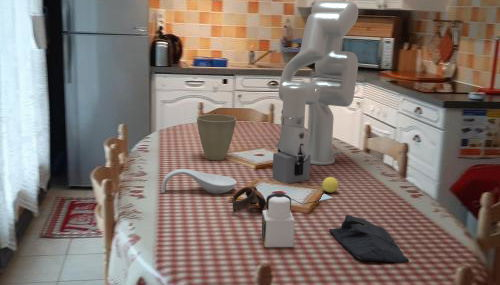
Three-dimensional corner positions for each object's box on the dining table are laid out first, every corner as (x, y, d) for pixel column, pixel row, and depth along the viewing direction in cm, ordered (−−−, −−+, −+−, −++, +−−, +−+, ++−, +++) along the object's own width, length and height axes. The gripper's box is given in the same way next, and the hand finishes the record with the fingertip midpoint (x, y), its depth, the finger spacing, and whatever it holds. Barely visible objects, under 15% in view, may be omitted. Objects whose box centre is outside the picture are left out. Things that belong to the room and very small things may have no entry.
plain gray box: (295, 174, 199) (296, 149, 197) (309, 179, 192) (310, 154, 190) (272, 177, 193) (273, 153, 191) (285, 183, 187) (286, 158, 185)
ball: (330, 189, 183) (331, 174, 181) (341, 193, 179) (342, 178, 177) (318, 191, 180) (319, 176, 179) (329, 195, 176) (330, 180, 175)
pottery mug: (269, 219, 156) (256, 197, 152) (239, 231, 158) (226, 208, 155) (271, 196, 166) (259, 174, 163) (242, 206, 169) (230, 185, 165)
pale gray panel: (312, 189, 182) (312, 188, 182) (333, 198, 174) (333, 197, 173) (282, 195, 175) (282, 194, 175) (302, 204, 167) (302, 203, 167)
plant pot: (212, 165, 207) (212, 122, 203) (189, 157, 218) (189, 116, 214) (243, 159, 217) (244, 118, 213) (219, 151, 228) (219, 112, 224)
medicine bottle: (261, 236, 142) (262, 191, 140) (289, 236, 143) (291, 191, 140) (264, 247, 136) (266, 200, 133) (293, 247, 136) (295, 200, 133)
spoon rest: (234, 185, 185) (234, 164, 183) (238, 197, 173) (239, 174, 172) (161, 186, 181) (161, 165, 180) (161, 198, 170) (160, 175, 168)
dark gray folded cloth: (348, 267, 128) (349, 247, 127) (326, 230, 149) (327, 213, 148) (413, 265, 129) (415, 246, 128) (382, 229, 151) (384, 213, 149)
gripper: (318, 125, 183) (315, 177, 187) (286, 116, 197) (284, 164, 201) (300, 127, 179) (298, 180, 183) (269, 118, 193) (267, 167, 197)
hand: (291, 171), depth 192 cm, fingers closed on plain gray box, 7 cm apart
